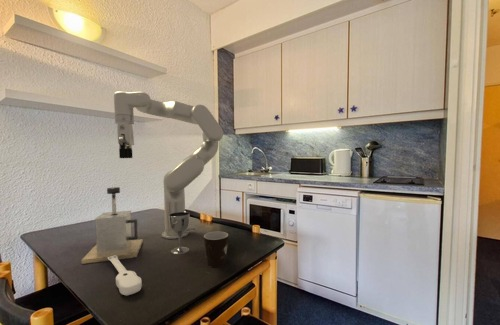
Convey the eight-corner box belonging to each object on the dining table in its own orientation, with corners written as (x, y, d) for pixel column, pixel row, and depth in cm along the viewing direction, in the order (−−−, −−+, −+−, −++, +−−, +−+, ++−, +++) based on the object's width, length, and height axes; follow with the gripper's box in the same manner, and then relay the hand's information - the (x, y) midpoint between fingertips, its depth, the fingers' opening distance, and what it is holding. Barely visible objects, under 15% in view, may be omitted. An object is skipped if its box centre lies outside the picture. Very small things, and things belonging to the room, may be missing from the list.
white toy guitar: (102, 266, 83) (102, 258, 83) (120, 261, 87) (120, 253, 87) (123, 300, 62) (122, 289, 62) (145, 292, 66) (145, 281, 66)
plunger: (128, 224, 99) (126, 186, 99) (123, 230, 91) (122, 188, 91) (106, 226, 97) (104, 187, 96) (99, 232, 89) (98, 189, 89)
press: (142, 242, 105) (141, 208, 104) (136, 257, 89) (135, 217, 89) (96, 247, 99) (95, 211, 99) (81, 264, 84) (80, 221, 84)
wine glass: (169, 255, 90) (168, 217, 90) (170, 247, 98) (169, 212, 97) (190, 253, 92) (189, 215, 92) (190, 245, 100) (189, 210, 100)
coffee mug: (217, 255, 89) (216, 229, 89) (233, 262, 84) (233, 234, 84) (192, 267, 80) (191, 238, 80) (208, 275, 75) (208, 244, 75)
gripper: (129, 117, 98) (131, 158, 99) (137, 123, 115) (138, 157, 115) (109, 117, 96) (111, 158, 97) (120, 122, 113) (121, 158, 113)
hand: (126, 158), depth 106 cm, fingers open, 9 cm apart
